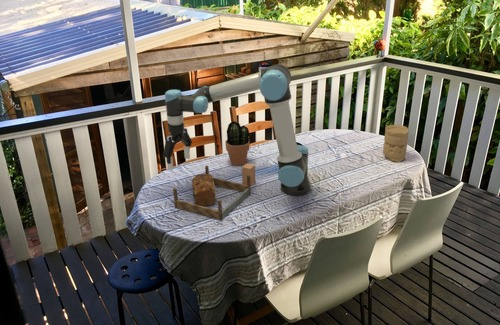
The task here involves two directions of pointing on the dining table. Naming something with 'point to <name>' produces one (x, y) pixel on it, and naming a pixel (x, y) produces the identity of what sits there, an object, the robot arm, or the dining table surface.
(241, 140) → the potted plant
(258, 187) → the dining table surface
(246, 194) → the bay
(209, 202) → the bread
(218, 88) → the robot arm
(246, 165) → the tan rectangular block
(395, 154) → the container
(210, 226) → the dining table surface
